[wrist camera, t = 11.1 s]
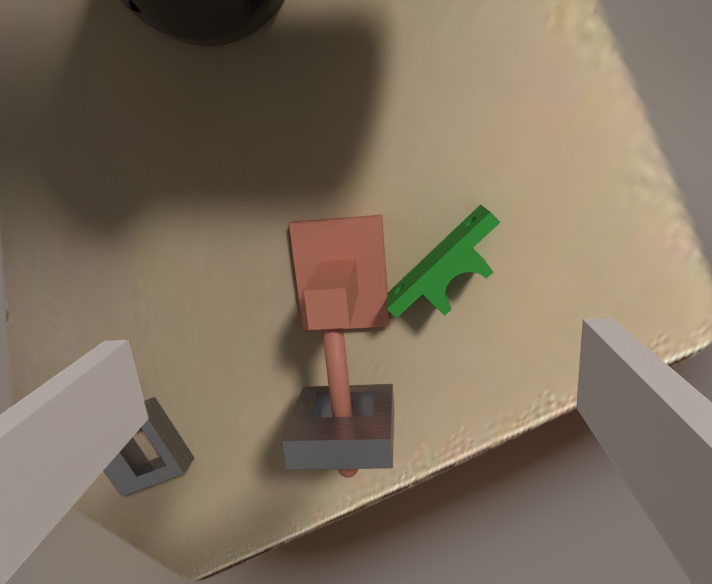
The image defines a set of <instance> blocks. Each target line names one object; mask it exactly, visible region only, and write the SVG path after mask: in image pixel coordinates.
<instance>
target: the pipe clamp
mask: <svg viewBox="0 0 712 584" xmlns="http://www.w3.org/2000/svg"><path fill="white" fill-rule="evenodd" d="M499 223H500V221H499V220H498V219H497V218H496V217H495V216H494V215H493V214H492V213H491V212H490V211H488V210H487V209H486V208H484V207H483V206H482V205H480V206H479V207H478V208H477V209H475V210H474V211H473V212H472V213H471V214H470V215H469V216H468V217H467V218H466V219H465V220H464V221H463V222H462V223H461V224H460V225H459V226H458V227H457V228H455V229H454V230H453V231H452V232H451V233H450V234H449V235H448V236H447V237H446V238H445V239H444V240H443V241H442V242H441V243H440V244H439V245H438V246H437V247H436V248H434V249H433V250H432V251H431V252H430V253H429V254H428V255H427V256H426V257H425V258H424V259H423V260H422V261H421V262H420V263H419V264H418V265H417V266H416V267H414V268H413V269H412V270H411V271H410V272H409V273H408V274H407V275H406V276H405V277H404V278H403V279H402V280H401V281H400V282H399V283H398V284H397V285H396V286H394V287H393V288H392V289H391V290H390V291H389V292H388V295H387V310H388V311H389V312H390V313H391V314H392V315H393V316H394V317H395V318H397V317H398V316H399V315H400V314H402V313H403V312H404V311H405V310H406V309H407V308H408V307H409V306H410V305H411V304H412V303H413V302H415V301H416V300H417V299H418V298H419V297H420V296H421V295H422V294H423V295H424V296H425V297H426V298H427V299H428V300H429V301H430V302H431V303H432V304H433V305H434V306H435V307H436V308H437V309H438V310H439V311H440V312H441V313H442V314H443V315H444V316H445V315H446V314H447V313H448V312H449V311H450V310H451V307H450V304H449V301H448V298H447V295H446V293H445V291H446V288H447V285H448V284H449V282H450V281H451V280H452V279H453V278H454V277H455V276H457V275H459V274H461V273H465V272H474V273H478V274H480V275H482V276H484V277H485V278H488V277H489V276H490V275H491V274H492V273H493V271H492V270H491V268H490V267H489V265H488V264H487V263H486V261H485V260H484V259H483V258H482V257H481V256H480V255H479V254H478V253H477V252H476V251H475V250H474V249H473V247H474V246H475V245H476V244H477V243H478V242H480V241H481V240H482V239H483V238H484V237H485V236H486V235H487V234H488V233H489V232H490V231H491V230H493V229H494V228H495V227H496V226H497V225H498V224H499Z"/></svg>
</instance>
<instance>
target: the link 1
mask: <svg viewBox="0 0 712 584" xmlns="http://www.w3.org/2000/svg"><path fill="white" fill-rule="evenodd" d="M144 403H145V407H146V410H147V414H148V418H149V419H148V420H147V421H146V422H145V423H144V425H143V426H142V427H141V428H142V429H143V431H144V432H145V434H146V435H147V437H148V438H149V440H150V441H151V443H152V444H153V446H154V447H155V449H156V450H157V452H158V453H159V455H160V456H161V457H159V458H156V459H154V460H151V461H148V459H147V458H146V456H145V455H144V453H143V452H142V450H141V449H140V447H139V446H138V445H137V443H136V442H135V440H134V439H133V437H132V438H131V439H130V441H129V442H128V443H127V444H126V445H125V446H124V447H123V449H122V450H121V451H120V452H119V453H118V454H117V456H116V457H115V458H114V459H113V460H112V461H111V462H110V464H109V465H108V466H107V467H106V468H105V469H104V470H103V471H104V473H105V474H106V476H107V477H108V478H109V480H110V481H111V483H112V484H113V485H114V487H115V488H116V490H117V491H118V492H119V494H120V495H121V496H124V495H127V494H130V493H132V492H135V491H138V490H141V489H143V488H146V487H149V486H152V485H155V484H157V483H160V482H163V481H166V480H168V479H171V478H174V477H177V476H179V475H182V474H184V473H185V472H186V470H187V469H188V467H189V465H190V464H191V462H192V461H193V459H194V457H193V455H192V454H191V452H190V451H189V449H188V448H187V446H186V444H185V443H184V441H183V440H182V438H181V437H180V435H179V434H178V432H177V431H176V429H175V427H174V426H173V424H172V423H171V421H170V420H169V418H168V417H167V415H166V414H165V412H164V410H163V409H162V407H161V406H160V404H159V403H158V401H157V400H156V398H155V397H153V398H151V399H148V400H146V401H144Z"/></svg>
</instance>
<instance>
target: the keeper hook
mask: <svg viewBox="0 0 712 584" xmlns="http://www.w3.org/2000/svg"><path fill="white" fill-rule="evenodd" d="M289 228H290V235H291V243H292V250H293V258H294V266H295V273H296V281H297V288H298V296H299V304H300V311H301V319H302V326H303V331H311V330H322V333H323V341H324V350H325V358H326V367H327V375H328V384H329V392H330V400H331V409H332V417H352V408H351V398H350V389H349V379H348V369H347V360H346V350H345V340H344V331H343V329H351V328H371V327H389V326H390V321H389V311H388V310H387V295H388V293H387V279H386V265H385V251H384V236H383V222H382V215H374V216H361V217H348V218H335V219H321V220H308V221H295V222H291V223H289ZM357 471H358V469H338V472H339V473H340V474H341V475H342V476H344V477H352V476H354V475H355V474H356V473H357Z"/></svg>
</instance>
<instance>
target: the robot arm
mask: <svg viewBox="0 0 712 584" xmlns="http://www.w3.org/2000/svg"><path fill="white" fill-rule="evenodd" d="M121 1H122V2H123V4H124V5H125V6H126V7H127V8H128V9H129V10H130V11H131V12H132V13H134V14H135V15H136V16H137V17H138V18H140V19H141V20H142V21H144V22H145V23H146V24H148V25H149V26H151V27H152V28H154V29H156V30H158V31H160V32H162V33H164V34H166V35H168V36H171V37H173V38H175V39H177V40H180V41H183V42H187V43H190V44H196V45H207V46H212V45H221V44H227V43H231V42H234V41H237V40H239V39H241V38H244V37H246V36H247V35H249V34H251V33H252V32H254V31H255V30H257V29H258V28H259V27H261V26H262V25H263V24H264V23H265V22H266V21H267V20H268V19H269V18H270V17H271V16H272V15H273V14H274V12H275V11H276V10H277V9H278V7H279V6H280V4H281V3H282V1H283V0H121ZM576 407H577V409H578V411H579V412H580V413H581V415H582V417H583V418H584V420H585V421H586V423H587V424H588V426H589V427H590V429H591V430H592V432H593V433H594V435H595V436H596V438H597V439H598V441H599V442H600V444H601V446H602V447H603V449H604V450H605V452H606V453H607V455H608V456H609V458H610V459H611V461H612V462H613V464H614V465H615V467H616V468H617V470H618V471H619V473H620V475H621V476H622V478H623V479H624V481H625V482H626V484H627V485H628V487H629V488H630V490H631V491H632V493H633V494H634V496H635V497H636V499H637V501H638V502H639V504H640V505H641V507H642V508H643V510H644V511H645V513H646V514H647V516H648V517H649V519H650V520H651V522H652V523H653V525H654V527H655V528H656V530H657V531H658V533H659V534H660V536H661V537H662V539H663V540H664V542H665V543H666V545H667V546H668V548H669V549H670V551H671V552H672V554H673V556H674V557H675V558H676V560H677V561H678V563H679V564H680V566H681V568H682V569H683V571H684V572H685V574H686V575H687V577H688V578H689V580H690V581H691V583H692V584H712V403H711V402H710V401H709V400H708V399H707V398H705V397H704V396H703V395H702V394H700V392H698V391H697V390H696V389H695V388H694V387H692V386H691V385H690V384H689V383H688V382H687V381H686V380H684V379H683V378H682V377H681V376H680V375H679V374H677V373H676V372H675V371H674V370H672V368H670V367H669V366H668V365H667V364H666V363H665V362H663V361H662V360H661V359H660V358H659V357H658V356H656V355H655V354H654V353H653V352H652V351H651V350H649V349H648V348H647V347H646V346H645V345H643V344H642V343H641V342H640V341H639V340H638V339H636V338H635V337H634V336H633V335H632V334H631V333H629V332H628V331H627V330H626V329H625V328H624V327H622V326H621V325H620V324H619V323H618V322H617V321H615V320H614V319H613V318H600V319H583V324H582V338H581V352H580V365H579V379H578V393H577V406H576ZM148 419H149V418H148V414H147V410H146V407H145V403H144V399H143V395H142V391H141V387H140V383H139V379H138V376H137V372H136V368H135V364H134V360H133V356H132V352H131V349H130V345H129V341H128V340H114V341H104V342H102V343H101V344H99V345H98V346H97V347H95V348H94V349H92V350H91V351H90V352H88V353H87V354H85V355H84V356H83V357H81V358H80V359H78V360H77V361H75V362H74V363H73V364H71V365H70V366H68V367H67V368H66V369H64V370H63V371H61V372H60V373H59V374H57V375H56V376H54V377H53V378H51V379H50V380H49V381H47V382H46V383H44V384H43V385H42V386H40V387H39V388H37V389H36V390H34V391H33V392H32V393H30V394H29V395H27V396H26V397H25V398H23V399H22V400H20V401H19V402H18V403H16V404H15V405H13V406H12V407H10V408H9V409H8V410H6V411H5V412H3V413H2V414H1V415H0V584H5V583H6V582H7V580H8V579H9V578H10V577H11V576H12V575H13V573H14V572H15V571H16V570H17V569H18V568H19V567H20V566H21V564H22V563H23V562H24V561H25V560H26V559H27V558H28V556H29V555H30V554H31V553H32V552H33V551H34V550H35V548H36V547H37V546H38V545H39V544H40V543H41V541H42V540H43V539H44V538H45V537H46V536H47V535H48V533H49V532H50V531H51V530H52V529H53V528H54V526H55V525H56V524H57V523H58V522H59V521H60V520H61V519H62V517H63V516H64V515H65V514H66V513H67V512H68V511H69V509H70V508H71V507H72V506H73V505H74V504H75V503H76V501H77V500H78V499H79V498H80V497H81V496H82V494H83V493H84V492H85V491H86V490H87V489H88V488H89V486H90V485H91V484H92V483H93V482H94V481H95V480H96V478H97V477H98V476H99V475H100V474H101V473H102V472H103V470H104V469H105V468H106V467H107V466H108V465H109V464H110V462H111V461H112V460H113V459H114V458H115V457H116V456H117V454H118V453H119V452H120V451H121V450H122V449H123V447H124V446H125V445H126V444H127V443H128V442H129V441H130V439H131V438H132V437H133V436H134V435H135V434H136V433H137V431H138V430H139V429H140V428H141V427H142V426H143V425H144V423H145V422H146V421H147V420H148Z"/></svg>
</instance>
